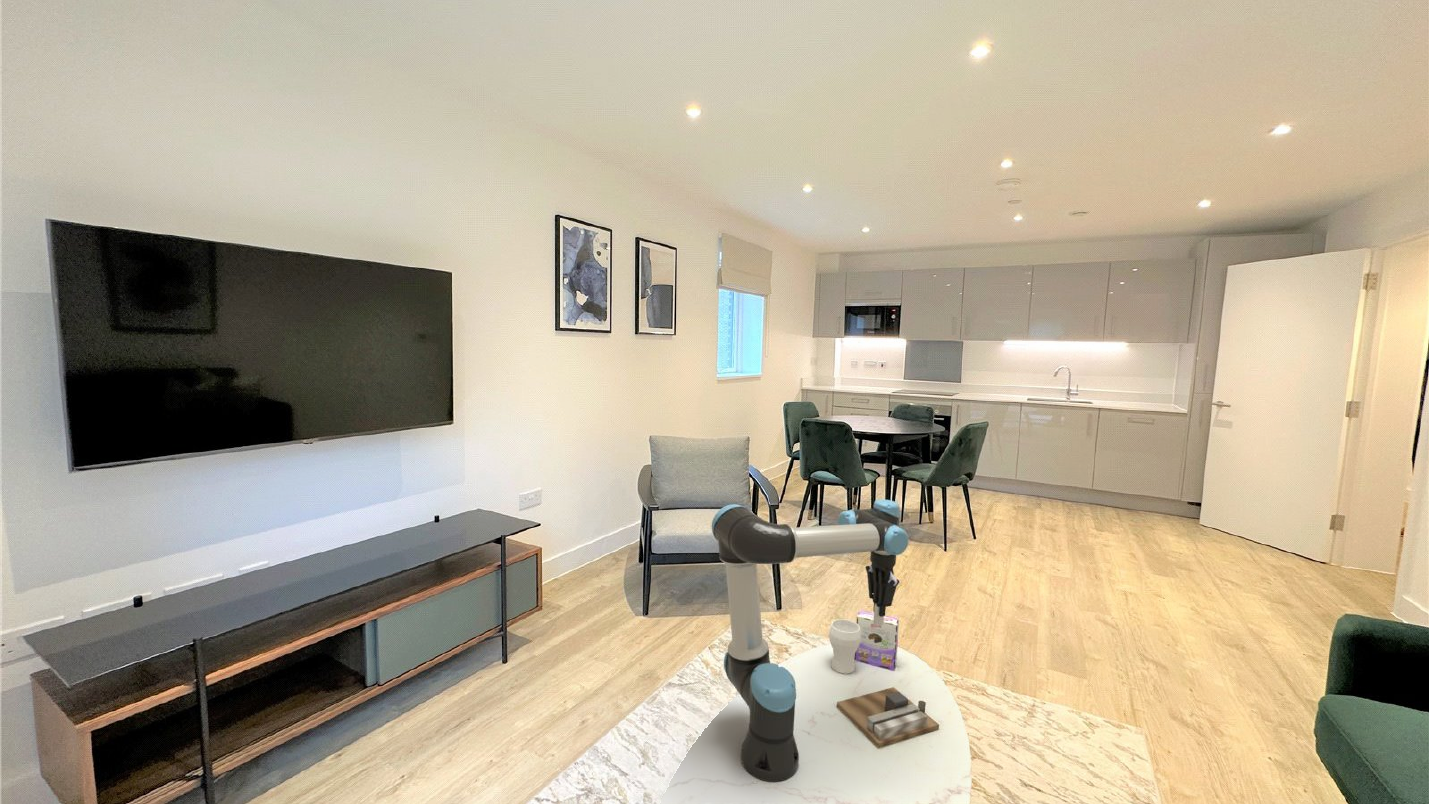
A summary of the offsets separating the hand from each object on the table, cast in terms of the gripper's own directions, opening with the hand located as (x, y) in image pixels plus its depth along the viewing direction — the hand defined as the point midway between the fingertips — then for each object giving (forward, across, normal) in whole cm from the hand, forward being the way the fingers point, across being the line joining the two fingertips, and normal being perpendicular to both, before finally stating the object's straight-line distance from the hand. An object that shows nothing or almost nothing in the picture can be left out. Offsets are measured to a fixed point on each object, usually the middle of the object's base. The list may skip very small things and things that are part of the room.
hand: (878, 624), depth 172 cm
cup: (+24, +17, -1) cm, 30 cm away
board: (+24, -9, +3) cm, 26 cm away
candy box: (+24, +16, -14) cm, 32 cm away
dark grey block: (+22, -10, 0) cm, 24 cm away
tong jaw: (+22, -14, +4) cm, 26 cm away
